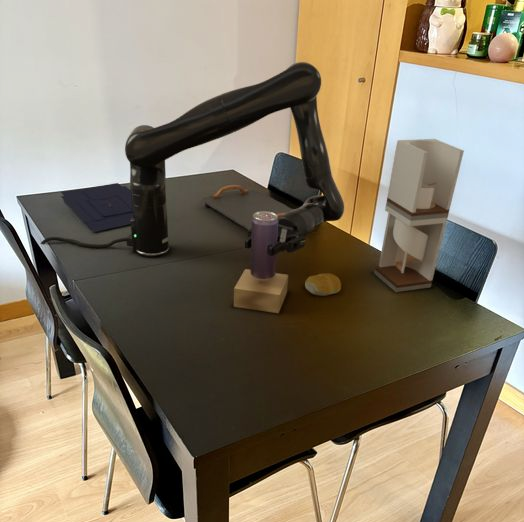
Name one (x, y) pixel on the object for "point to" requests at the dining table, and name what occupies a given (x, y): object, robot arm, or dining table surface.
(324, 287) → the bread roll
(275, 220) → the beverage can
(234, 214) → the serving tray
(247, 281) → the birch block
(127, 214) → the folded navy cloth
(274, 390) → the dining table surface
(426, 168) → the architectural tower model
